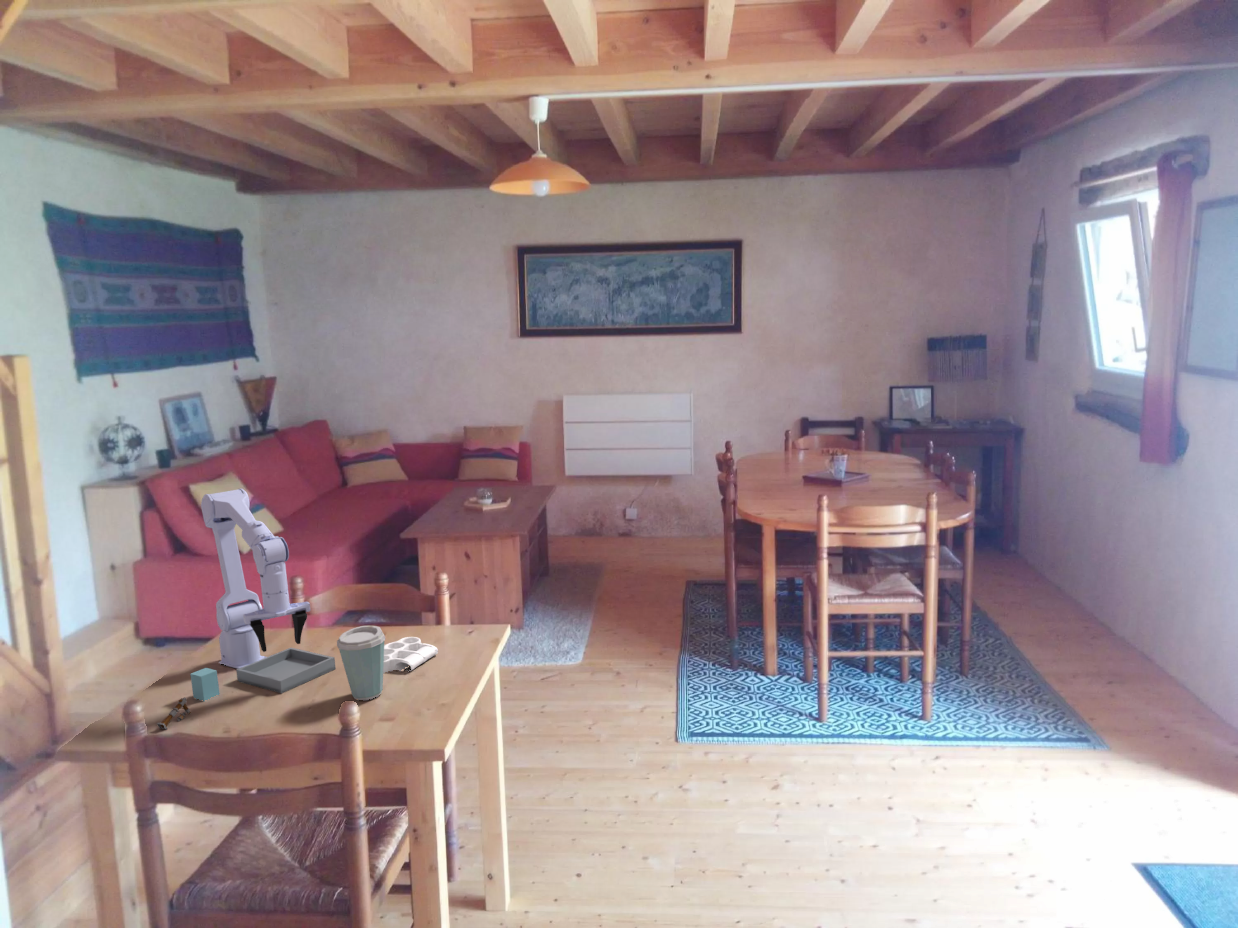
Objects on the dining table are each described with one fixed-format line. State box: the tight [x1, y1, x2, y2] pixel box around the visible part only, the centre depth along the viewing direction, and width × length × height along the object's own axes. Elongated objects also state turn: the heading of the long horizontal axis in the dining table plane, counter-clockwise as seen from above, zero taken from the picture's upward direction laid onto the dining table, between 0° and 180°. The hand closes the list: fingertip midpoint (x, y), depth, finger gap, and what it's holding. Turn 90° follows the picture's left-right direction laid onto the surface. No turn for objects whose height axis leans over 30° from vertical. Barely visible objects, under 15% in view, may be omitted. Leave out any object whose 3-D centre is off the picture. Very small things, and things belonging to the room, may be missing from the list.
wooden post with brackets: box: [156, 697, 192, 731], centre depth 200 cm, size 2×8×4 cm, turn 160°
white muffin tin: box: [383, 636, 439, 674], centre depth 230 cm, size 3×18×15 cm
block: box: [190, 667, 221, 702], centre depth 213 cm, size 4×4×6 cm
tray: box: [236, 647, 337, 694], centre depth 224 cm, size 16×16×3 cm
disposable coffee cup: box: [336, 625, 386, 701], centre depth 209 cm, size 11×11×15 cm
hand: (281, 646), depth 216 cm, fingers open, 7 cm apart
